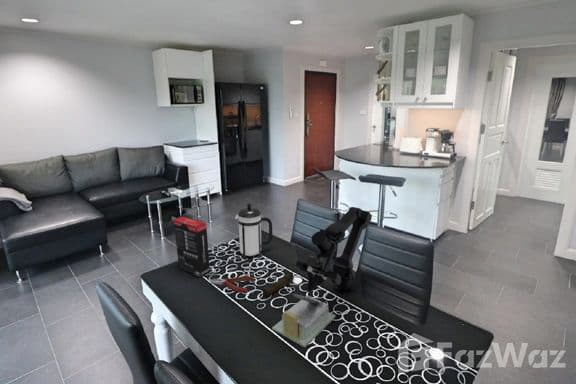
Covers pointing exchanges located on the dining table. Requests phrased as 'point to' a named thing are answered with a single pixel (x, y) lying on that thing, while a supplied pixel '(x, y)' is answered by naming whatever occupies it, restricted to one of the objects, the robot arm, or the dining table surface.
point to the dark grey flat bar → (305, 298)
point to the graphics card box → (192, 246)
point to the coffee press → (251, 230)
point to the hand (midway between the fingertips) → (308, 292)
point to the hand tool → (278, 284)
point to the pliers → (229, 284)
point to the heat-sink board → (304, 321)
